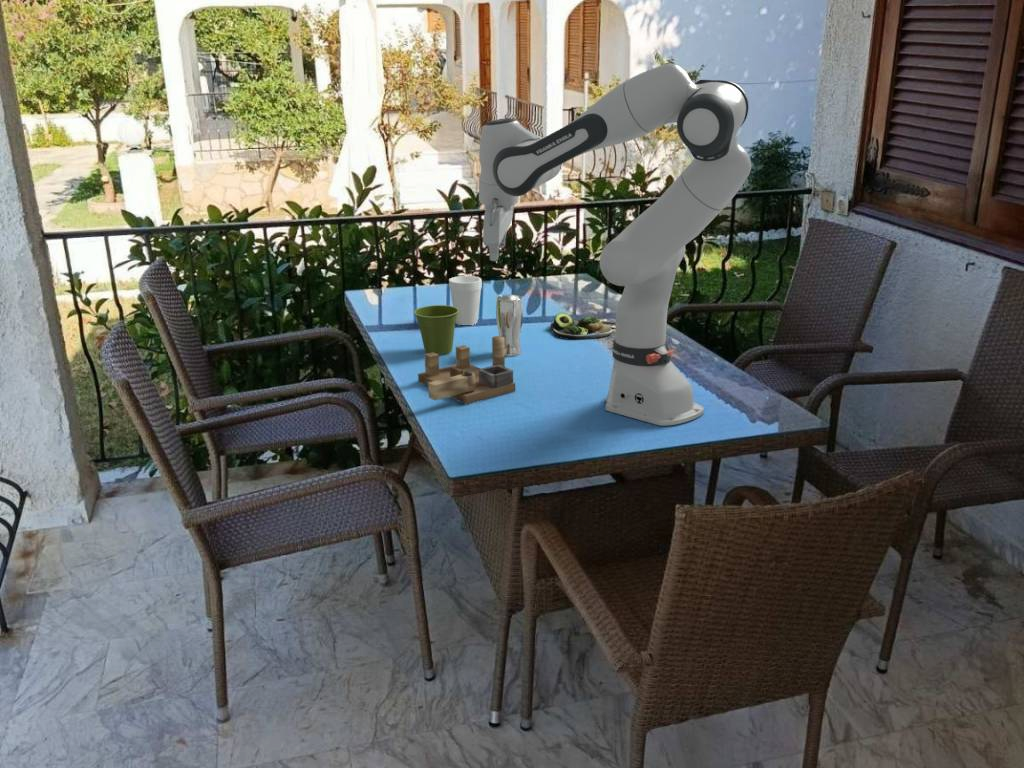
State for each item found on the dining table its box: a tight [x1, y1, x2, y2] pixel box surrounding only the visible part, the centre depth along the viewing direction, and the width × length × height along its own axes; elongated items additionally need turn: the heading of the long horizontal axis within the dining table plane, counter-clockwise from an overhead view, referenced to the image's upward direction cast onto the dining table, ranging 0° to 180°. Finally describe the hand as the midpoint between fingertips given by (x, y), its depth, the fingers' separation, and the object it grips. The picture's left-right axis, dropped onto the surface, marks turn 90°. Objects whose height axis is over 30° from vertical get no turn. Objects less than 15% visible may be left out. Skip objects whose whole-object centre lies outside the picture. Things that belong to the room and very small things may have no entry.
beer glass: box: [495, 294, 524, 357], centre depth 241 cm, size 7×7×15 cm
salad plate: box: [550, 312, 616, 340], centre depth 263 cm, size 19×18×5 cm
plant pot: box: [413, 304, 459, 356], centre depth 243 cm, size 12×12×11 cm
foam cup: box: [448, 275, 483, 326], centre depth 269 cm, size 10×9×13 cm
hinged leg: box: [427, 371, 475, 401], centre depth 207 cm, size 12×3×4 cm, turn 128°
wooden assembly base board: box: [417, 344, 516, 405], centre depth 218 cm, size 20×14×7 cm
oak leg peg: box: [491, 335, 506, 367], centre depth 227 cm, size 3×3×9 cm
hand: (497, 253), depth 211 cm, fingers open, 8 cm apart
